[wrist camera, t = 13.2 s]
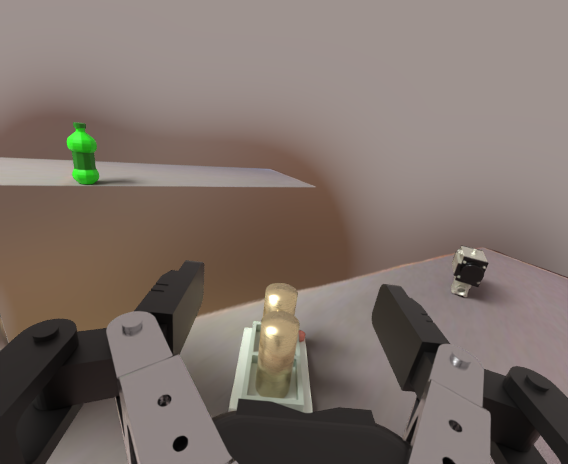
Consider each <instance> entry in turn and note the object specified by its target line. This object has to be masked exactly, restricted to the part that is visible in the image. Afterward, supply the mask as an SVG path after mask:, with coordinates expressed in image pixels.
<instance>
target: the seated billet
mask: <svg viewBox="0 0 568 464" xmlns="http://www.w3.org/2000/svg"><path fill="white" fill-rule="evenodd" d="M297 295H298V292H297V290H296V289H295V288H293V287H292V286H290V285H288V284H284V283H274V284H271V285H269V286H268V287H267V288H266V294H265V302H264V311H263V316H264V315H265V314H267V313H269V312H272V311H285V312H288V313H290V314H292V315H294V314H295V308H296V301H297Z"/></svg>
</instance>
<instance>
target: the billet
mask: <svg viewBox="0 0 568 464" xmlns="http://www.w3.org/2000/svg"><path fill="white" fill-rule="evenodd" d="M298 332H299V321H298V319H297V318H296V317H295V316H294V315H292V314H290V313H288V312H285V311H272V312H269V313H267V314H265V315H264V316H263V318H262V321H261V331H260V341H259V351H258V362H257V372H256V382H255V387H256V391H257V393H258V394H259V395H260V396H261V397H272V398H284V397H285V396H286V395H287V394H288V392H289V389H290V382H291V376H292V370H293V363H294V357H295V351H296V344H297V338H298Z"/></svg>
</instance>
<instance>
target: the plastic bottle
mask: <svg viewBox="0 0 568 464" xmlns="http://www.w3.org/2000/svg"><path fill="white" fill-rule="evenodd" d="M73 125H74V127H75V128H76V132H74V133H73V134H72V135H71V136H70V137H68V139H67V146H68V148H69V149H70V150H71V151H72V156H73V163H74V170H73V173H72V174H73V178H74V179H75V180H76V181H78V182H79V183H80V184H94V183H95V182H96V181H97V180H98V179H99V173H98V171H97V169H96V166H95V158H94V152H95V151H96V147H97V146H96V142H95V140H94V139H93V138H92V137H91V136H90V135H88V134H87V133H86V132H85V128H86V124H85V123H75V122H74V123H73Z"/></svg>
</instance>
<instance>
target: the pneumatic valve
mask: <svg viewBox="0 0 568 464" xmlns="http://www.w3.org/2000/svg"><path fill="white" fill-rule="evenodd" d="M487 265H488V262H487V259H486V257H485V255H484V253H483V251H482V250H478V249H474V248H470V247H466V246H461V247H460V249H458V251H457V252H455V255H454V258H453V260H452V266H453V273H454V276H455V277H454V281H453V285H451V292H452V293H453V294H455V293H456V294H458V295H462V296H463V297H467V293H468V291H469V289H470V288H471V285H472V286H476V287H478V286H479V284H480V282H481V280H482V279H483V277H484V272H485V270H486V268H487Z"/></svg>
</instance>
